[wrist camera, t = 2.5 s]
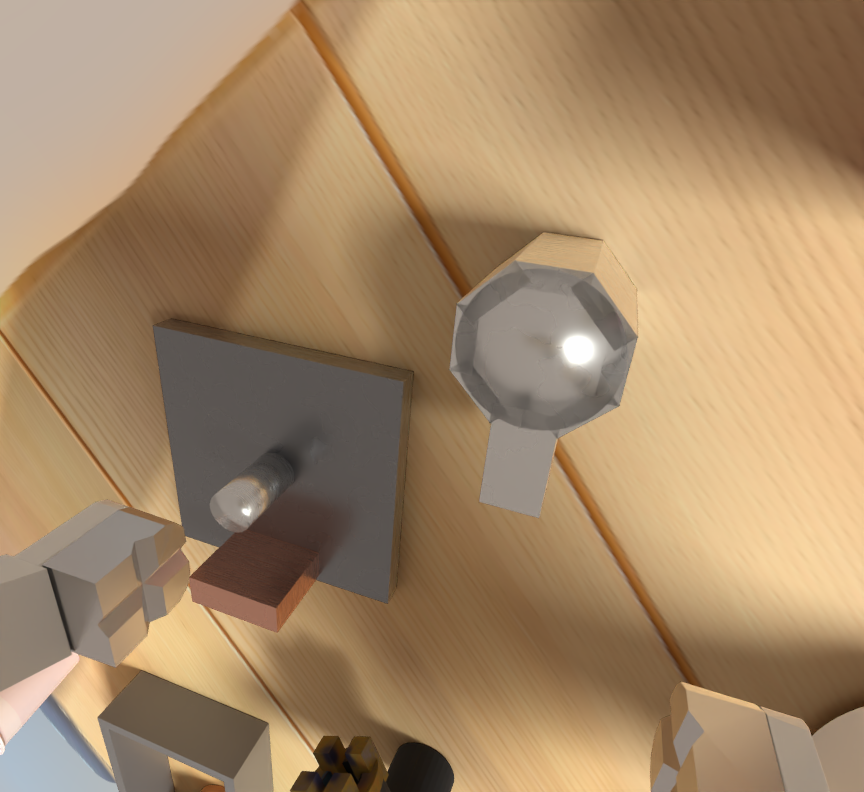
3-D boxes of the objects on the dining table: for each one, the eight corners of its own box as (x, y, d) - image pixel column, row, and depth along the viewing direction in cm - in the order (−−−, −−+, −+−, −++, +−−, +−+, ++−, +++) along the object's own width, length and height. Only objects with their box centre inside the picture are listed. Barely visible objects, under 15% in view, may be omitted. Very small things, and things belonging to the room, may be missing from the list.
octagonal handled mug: (648, 246, 24) (653, 281, 18) (595, 450, 28) (585, 533, 22) (503, 225, 25) (462, 251, 19) (475, 422, 30) (435, 492, 24)
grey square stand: (413, 371, 30) (362, 424, 24) (396, 587, 37) (354, 666, 31) (171, 318, 34) (79, 353, 28) (197, 522, 41) (128, 583, 35)
